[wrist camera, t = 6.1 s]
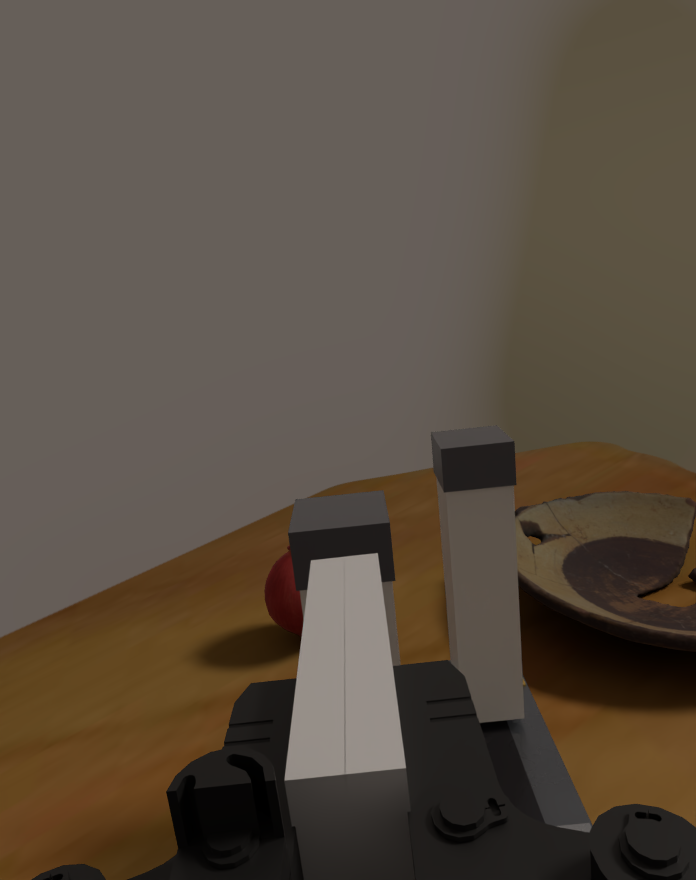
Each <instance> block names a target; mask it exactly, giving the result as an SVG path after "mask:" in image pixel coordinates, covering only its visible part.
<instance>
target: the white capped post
mask: <svg viewBox="0 0 696 880" xmlns="http://www.w3.org/2000/svg"><path fill="white" fill-rule="evenodd" d="M431 440H432V454H433V467H434V473H435V475H436V477H437V489H438V502H439V515H440V528H441V541H442V554H443V567H444V580H445V593H446V606H447V619H448V632H449V645H450V658H451V664H452V665H453V666H455V667H456V668H457V669H458V670H459V671H460V672H461V673H462V674H463V675H464V676H465V678H466V681H467V684H468V688H469V691H470V694H471V698H472V700H473V703H474V707H475V710H476V713H477V718H478V719H479V722H480V723H483V722H493V721H504V720H514V719H524V697H523V676H522V655H521V633H520V612H519V591H518V570H517V549H516V527H515V506H514V485H516V467H515V446H514V441H513V440H512V439H511V438H510V437H509V436H508V435H507V434H506V433H505V432H503V431H502V430H501V429H500V428H499V427H498V426H497V425H496V426H488V427H477V428H468V429H459V430H449V431H441V432H431Z"/></svg>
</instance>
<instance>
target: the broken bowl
mask: <svg viewBox="0 0 696 880" xmlns="http://www.w3.org/2000/svg"><path fill="white" fill-rule="evenodd" d="M695 517H696V502H694V501H693V500H692V499H691V498H682V497H674V496H671V495H662V494H660V493H659V494H658V493H646V494H644V493H638V492H637V493H636V492H629V491H622V492H615V491H613V492H599V493H592V494H585V495H583V496H576V497H567V498H566V499H562V498H559V499H555V500H553V501H550V502H543V503H542V504H538V505H532V506H524V507H520V508H518V509H517V510H516V511H515V527H516V549H517V570H518V585H519V586H520V587H521V588H522V589H523V590H524V591H525V592H527V593H528V594H529V595H531V596H532V597H534V598H535V599H536V600H537V601H539V602H541V603H542V604H544V605H546V606H547V607H549V608H551V609H552V610H554V611H556V612H559V613H561V614H563V615H565V616H567V617H570V618H572V619H574V620H576V621H579V622H581V623H583V624H585V625H588V626H590V627H593V628H595V629H598V630H600V631H603V632H605V633H608V634H611V635H614V636H617V637H620V638H622V639H626V640H629V641H633V642H638V643H643V644H648V645H653V646H658V647H664V648H669V649H676V650H683V651H692V652H696V604H694V605H691V606H688V607H675V606H670V605H668V604H661V603H659V602H655V601H650V600H644V599H641V598H638V597H637V596H638V595H643V594H645V593H647V592H650V591H654V590H657V589H660V588H662V587H663V586H665V585H668V584H669V583H671V582H672V581H673V579H674V578H676V577H677V576H678V575H679V574H680V569H681V568H682V566H683V564H684V560H685V556H686V553H687V550H688V548H689V539H690V537H691V534H692V531H693V524H694V519H695ZM526 536H527V537H529V536H532V537H535V538H538V539H540V540H541V544H538V545H534V544H533V543H531V541H530V539H528V538H527V537H526ZM688 577H689V578H691V579H692V580H693V581H694V582H696V568H695V569H693V570H692V572H691V573H690V574H689V575H688Z"/></svg>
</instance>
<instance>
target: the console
mask: <svg viewBox="0 0 696 880" xmlns="http://www.w3.org/2000/svg"><path fill="white" fill-rule="evenodd" d="M449 662H450V663H451V660H450V661H449ZM522 676H523V674H522ZM523 697H524V719H514V720H504V721H493V722H483V723H480V726H481V729H482V732H483V735H484V738H485V741H486V744H487V748H488V751H489V754H490V757H491V760H492V763H493V767H494V770H495V773H496V776H497V779H498V782H499V785H500V787H501V789H502V791H503V793H504V795H506V796H507V797H508V798H509V800H510V802H511V803H512V804H513V805H514V806H515V807H516V808H518V809H519V810H520V811H522V812H523V813H524V814H526V815H527V816H529V817H532V818H534V819H536V820H538V821H540V822H542V823H546V824H549V825H553V826H557V827H561V828H566V829H572V830H578V831H584V832H589V833H590V830H591V828H592V824H591V821H590V819H589V817H588V815H587V813H586V811H585V808H584V806H583V804H582V802H581V800H580V798H579V795H578V793H577V791H576V789H575V787H574V785H573V782H572V780H571V778H570V776H569V774H568V772H567V769H566V767H565V765H564V763H563V761H562V759H561V756H560V754H559V752H558V750H557V748H556V746H555V744H554V741H553V739H552V737H551V735H550V733H549V731H548V728H547V726H546V724H545V722H544V720H543V718H542V715H541V713H540V711H539V709H538V707H537V705H536V702H535V700H534V698H533V696H532V694H531V692H530V689H529V687H528V685H527V683H526V681H525V679H524V676H523Z"/></svg>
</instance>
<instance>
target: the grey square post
mask: <svg viewBox="0 0 696 880" xmlns="http://www.w3.org/2000/svg"><path fill="white" fill-rule="evenodd" d="M288 536H289V543H290V550H291V557H292V565H293V572H294V579H295V586H296V591H300V597H301V604H302V612H303V619H304V614H305V606H306V597H307V589H308V581H309V572H310V564H311V560H319V559H329V558H338V557H347V556H356V555H365V554H374V553H378V559H379V567H380V574H381V582H382V589H383V597H384V605H385V612H386V620H387V627H388V635H389V643H390V650H391V658H392V665H393V666H398V665H400V657H399V646H398V636H397V626H396V616H395V606H394V596H393V585H392V581H395V573H394V562H393V552H392V542H391V532H390V522H389V517H388V512H387V507H386V502H385V497H384V492H383V490H382V491H373V492H363V493H354V494H344V495H335V496H325V497H315V498H306V499H296V500H295V504H294V509H293V513H292V518H291V522H290V527H289V531H288Z"/></svg>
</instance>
